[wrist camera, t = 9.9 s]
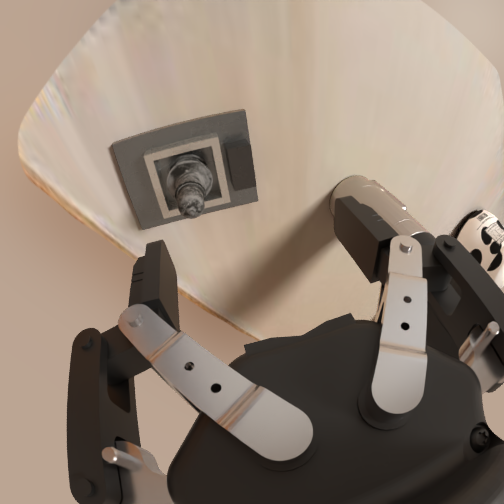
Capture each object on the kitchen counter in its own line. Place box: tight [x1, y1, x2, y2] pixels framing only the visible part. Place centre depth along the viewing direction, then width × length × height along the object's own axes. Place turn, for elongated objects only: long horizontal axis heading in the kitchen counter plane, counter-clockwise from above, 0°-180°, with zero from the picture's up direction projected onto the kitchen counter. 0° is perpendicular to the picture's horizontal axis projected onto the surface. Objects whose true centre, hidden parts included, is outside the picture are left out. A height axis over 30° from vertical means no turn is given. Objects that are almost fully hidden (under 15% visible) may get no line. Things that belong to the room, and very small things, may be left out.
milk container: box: [456, 210, 504, 289], centre depth 56 cm, size 17×17×18 cm
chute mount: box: [112, 109, 258, 230], centre depth 37 cm, size 18×14×4 cm
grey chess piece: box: [166, 154, 213, 219], centre depth 33 cm, size 6×6×12 cm
